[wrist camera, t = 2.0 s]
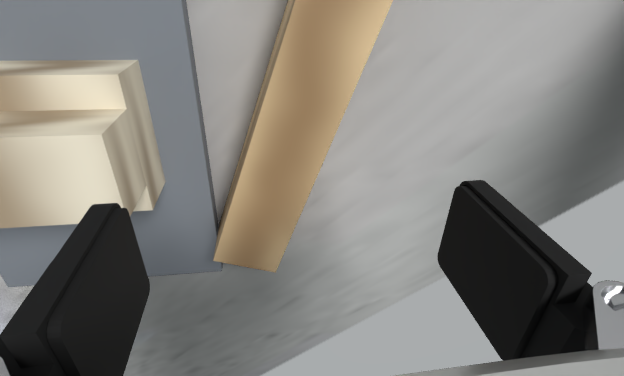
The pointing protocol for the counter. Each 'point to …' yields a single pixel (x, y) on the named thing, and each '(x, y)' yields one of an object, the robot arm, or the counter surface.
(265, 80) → the oak bar
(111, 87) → the stepped block
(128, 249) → the robot arm
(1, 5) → the slate board
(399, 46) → the counter surface
